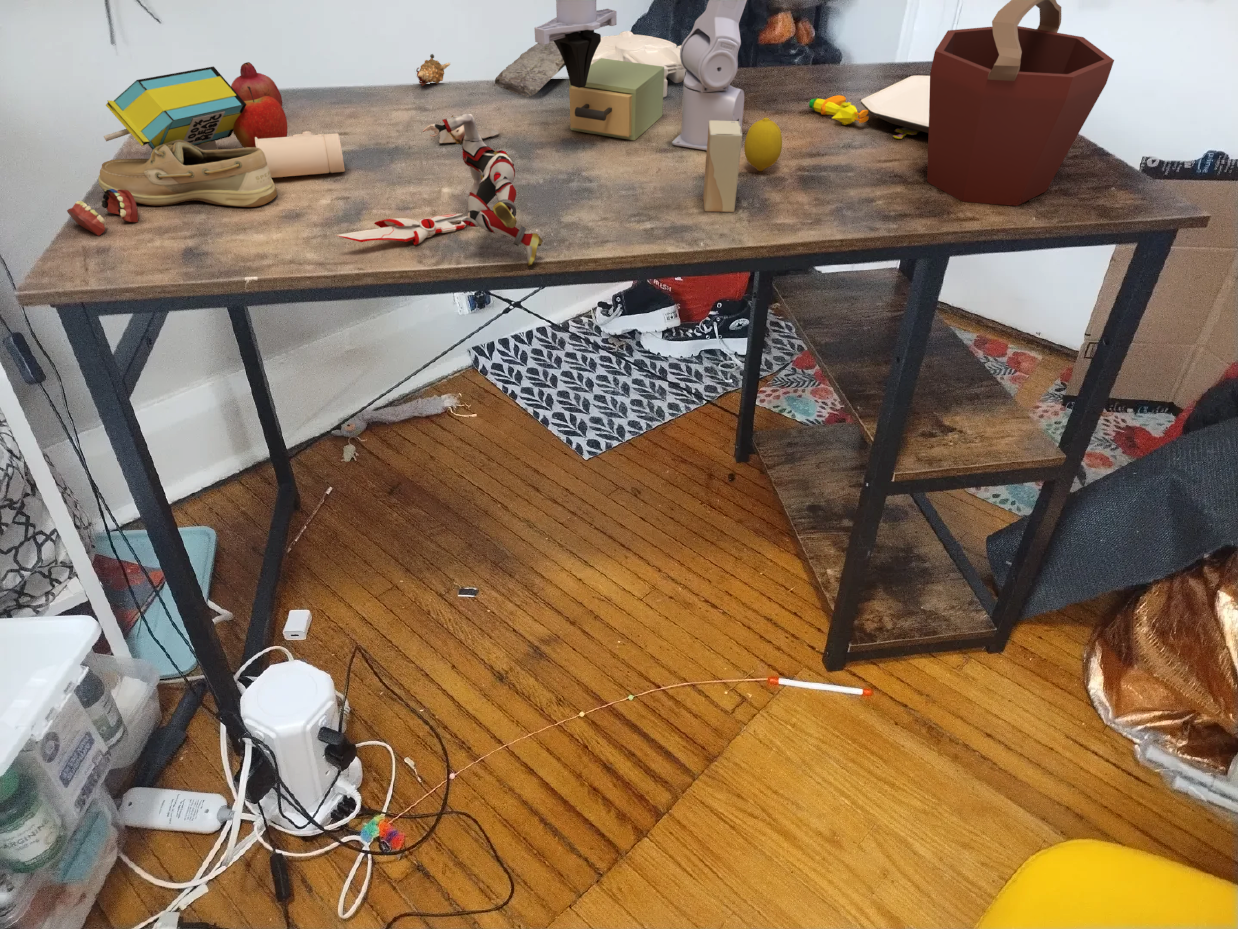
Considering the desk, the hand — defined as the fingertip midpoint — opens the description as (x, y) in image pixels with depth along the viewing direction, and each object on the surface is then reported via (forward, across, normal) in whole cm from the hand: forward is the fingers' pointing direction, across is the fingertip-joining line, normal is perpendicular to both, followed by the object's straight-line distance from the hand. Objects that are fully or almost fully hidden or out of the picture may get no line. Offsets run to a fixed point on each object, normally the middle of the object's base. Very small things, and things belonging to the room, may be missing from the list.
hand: (578, 85), depth 133 cm
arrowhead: (+10, -12, +20) cm, 26 cm away
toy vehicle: (+4, +32, +20) cm, 38 cm away
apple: (+10, -35, +34) cm, 50 cm away
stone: (+9, +25, +28) cm, 39 cm away
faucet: (+8, -39, +29) cm, 49 cm away
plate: (+10, +56, -36) cm, 67 cm away
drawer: (+9, +11, +4) cm, 15 cm away
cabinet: (+10, +14, +5) cm, 18 cm away
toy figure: (+8, +40, -26) cm, 49 cm away
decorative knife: (+10, +47, -30) cm, 57 cm away
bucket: (+10, +35, -50) cm, 62 cm away
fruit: (+10, -29, +46) cm, 55 cm away
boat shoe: (+10, -50, +28) cm, 58 cm away
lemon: (+11, +15, -24) cm, 30 cm away
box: (+11, +1, -28) cm, 29 cm away
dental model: (+8, -66, +27) cm, 72 cm away
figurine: (+5, +2, +45) cm, 45 cm away
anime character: (+9, -38, -24) cm, 46 cm away
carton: (+2, -39, +37) cm, 53 cm away
